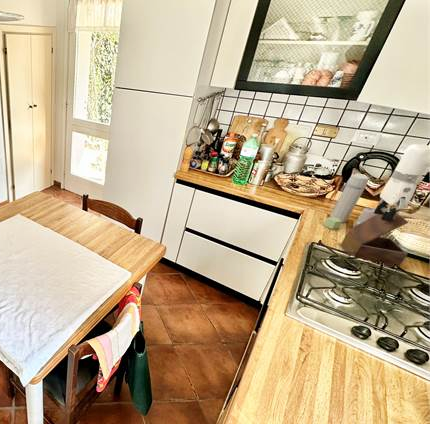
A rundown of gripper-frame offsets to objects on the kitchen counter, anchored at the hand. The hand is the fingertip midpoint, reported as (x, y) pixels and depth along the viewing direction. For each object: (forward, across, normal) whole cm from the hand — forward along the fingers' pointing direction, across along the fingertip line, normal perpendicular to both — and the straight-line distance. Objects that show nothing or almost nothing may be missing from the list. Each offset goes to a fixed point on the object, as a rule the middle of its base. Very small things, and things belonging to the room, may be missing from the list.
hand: (382, 216), depth 128 cm
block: (+20, +25, +3) cm, 32 cm away
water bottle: (+20, +37, -3) cm, 42 cm away
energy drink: (+20, +27, -10) cm, 35 cm away
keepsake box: (+20, 0, -3) cm, 20 cm away
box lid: (+5, 0, 0) cm, 5 cm away
